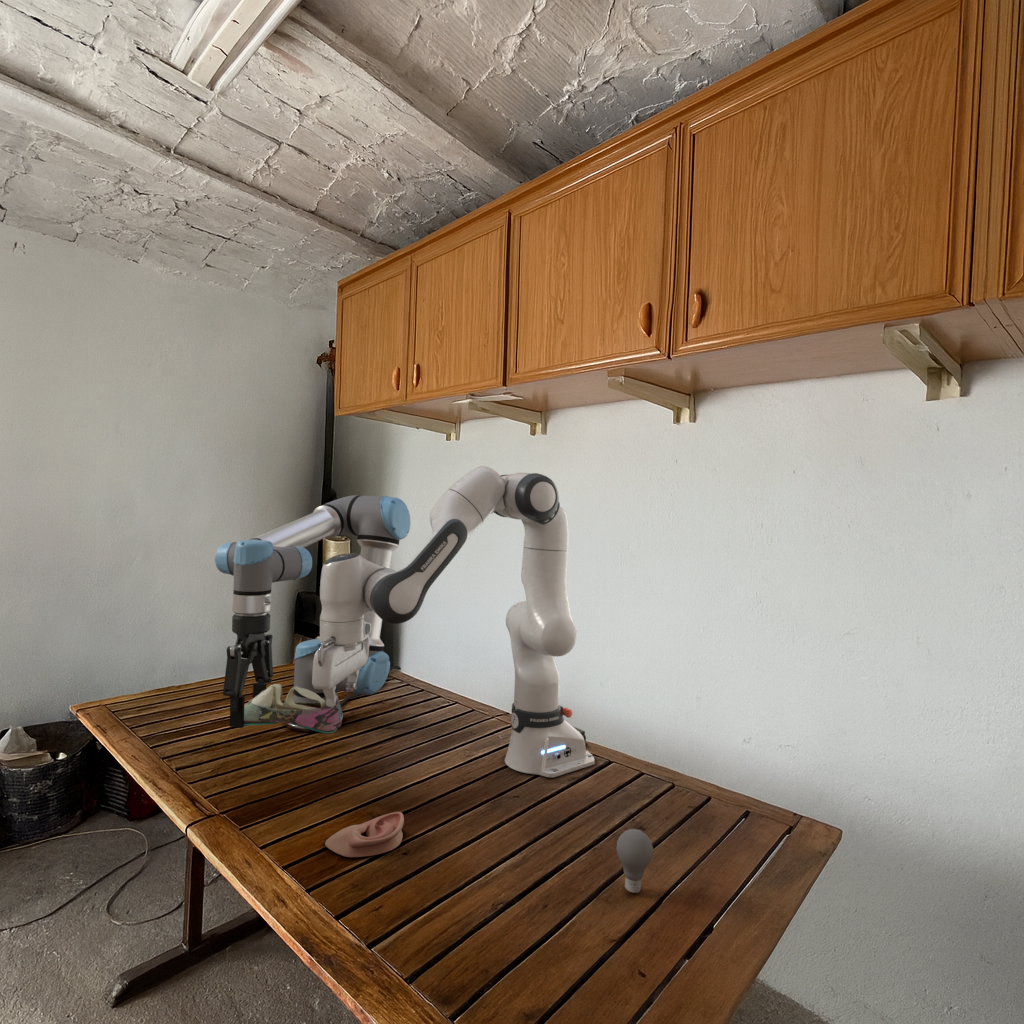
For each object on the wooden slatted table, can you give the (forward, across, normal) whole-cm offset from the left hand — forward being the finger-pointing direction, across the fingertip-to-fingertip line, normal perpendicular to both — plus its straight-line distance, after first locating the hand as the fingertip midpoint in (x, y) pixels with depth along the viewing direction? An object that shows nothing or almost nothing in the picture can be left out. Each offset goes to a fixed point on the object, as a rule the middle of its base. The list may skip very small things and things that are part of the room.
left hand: (248, 719), depth 135 cm
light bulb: (+15, -18, -81) cm, 84 cm away
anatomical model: (+15, -14, -32) cm, 38 cm away
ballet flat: (+1, 0, -9) cm, 9 cm away
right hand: (-6, 0, -21) cm, 22 cm away
